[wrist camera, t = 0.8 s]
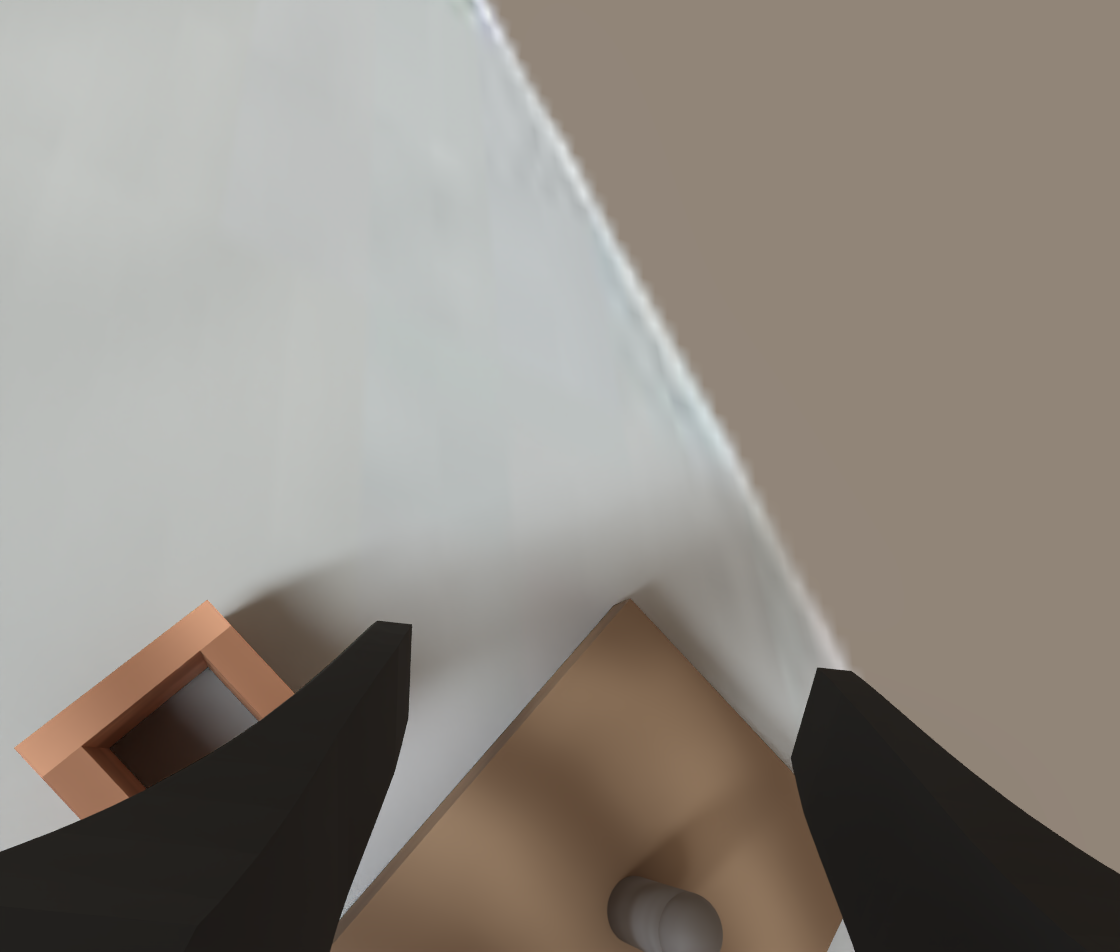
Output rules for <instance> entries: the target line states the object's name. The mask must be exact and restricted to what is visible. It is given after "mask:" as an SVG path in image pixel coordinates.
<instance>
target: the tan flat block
mask: <svg viewBox="0 0 1120 952" xmlns="http://www.w3.org/2000/svg"><path fill="white" fill-rule="evenodd" d="M842 919H843V917H842V915H841V912H840V910H839V907H838V904H837V902H836V899H835V896H834V894H833V891H832V888H831V886H830V883H829V881H828V878H827V875H826V873H825V870H824V867H823V865H822V862H821V859H820V857H819V854H818V851H817V849H816V846H815V843H814V841H813V838H812V835H811V832H810V830H809V827H808V824H807V821H806V819H805V816H804V813H803V809H802V805H801V801H800V797H799V793H798V789H797V784H796V779H795V775H794V774H793V773H792V771H791V770H790V769H789V768H788V767H787V766H786V765H785V764H784V763H783V762H782V761H781V760H780V759H779V758H778V756H777V755H776V754H775V753H774V752H773V751H772V750H771V749H770V748H769V747H768V746H767V745H766V744H765V742H764V741H763V740H762V739H761V738H760V737H759V736H758V735H757V734H756V733H755V732H754V731H753V730H752V729H751V727H750V726H749V725H748V724H747V723H746V722H745V721H744V720H743V719H742V718H741V717H740V716H739V715H738V713H737V712H736V711H735V710H734V709H733V708H732V707H731V706H730V705H729V704H728V703H727V702H726V701H725V700H724V698H723V697H722V696H721V695H720V694H719V693H718V692H717V691H716V690H715V689H714V688H713V687H712V686H711V684H710V683H709V682H708V681H707V680H706V679H705V678H704V677H703V676H702V675H701V674H700V673H699V672H698V671H697V669H696V668H695V667H694V666H693V665H692V664H691V663H690V662H689V661H688V660H687V659H686V658H685V657H684V655H683V654H682V653H681V652H680V651H679V650H678V649H677V648H676V647H675V646H674V645H673V644H672V643H671V642H670V640H669V639H668V638H667V637H666V636H665V635H664V634H663V633H662V632H661V631H660V630H659V629H658V628H657V626H656V625H655V624H654V623H653V622H652V621H651V620H650V619H649V618H648V617H647V616H646V615H645V614H644V613H643V611H642V610H641V609H640V608H639V607H638V606H637V605H636V604H635V603H634V602H633V601H632V600H631V599H628V600H625V601H623V602H621V603H619V604H616V605H614V606H613V607H612V608H611V609H610V610H609V612H608V613H607V614H606V615H605V616H604V617H603V618H602V620H601V621H600V622H599V623H598V624H597V625H596V627H595V628H594V629H593V630H592V631H591V632H590V633H589V635H588V636H587V637H586V638H585V639H584V640H583V641H582V643H581V644H580V645H579V646H578V647H577V648H576V649H575V651H574V652H573V653H572V654H571V655H570V656H569V657H568V659H567V660H566V661H565V662H564V663H563V664H562V666H561V667H560V668H559V669H558V670H557V671H556V672H555V674H554V675H553V676H552V677H551V678H550V679H549V680H548V682H547V683H546V684H545V685H544V686H543V687H542V688H541V690H540V691H539V692H538V693H537V694H536V695H535V696H534V698H533V699H532V700H531V701H530V702H529V703H528V705H527V706H526V707H525V708H524V709H523V710H522V711H521V713H520V714H519V715H518V716H517V717H516V718H515V719H514V721H513V722H512V723H511V724H510V725H509V726H508V727H507V729H506V730H505V731H504V732H503V733H502V734H501V736H500V737H499V738H498V739H497V740H496V741H495V742H494V744H493V745H492V746H491V747H490V748H489V749H488V750H487V752H486V753H485V754H484V755H483V756H482V757H481V758H480V760H479V761H478V762H477V763H476V764H475V765H474V766H473V768H472V769H471V770H470V771H469V772H468V773H467V775H466V776H465V777H464V778H463V779H462V780H461V781H460V783H459V784H458V785H457V786H456V787H455V788H454V789H453V791H452V792H451V793H450V794H449V795H448V796H447V797H446V799H445V800H444V801H443V802H442V803H441V804H440V805H439V807H438V808H437V809H436V810H435V811H434V812H433V814H432V815H431V816H430V817H429V818H428V819H427V820H426V822H425V823H424V824H423V825H422V826H421V827H420V828H419V830H418V831H417V832H416V833H415V834H414V835H413V836H412V838H411V839H410V840H409V841H408V842H407V843H406V844H405V846H404V847H403V848H402V849H401V850H400V851H399V853H398V854H397V855H396V856H395V857H394V858H393V859H392V861H391V862H390V863H389V864H388V865H387V866H386V867H385V869H384V870H383V871H382V872H381V873H380V874H379V875H378V877H377V878H376V879H375V880H374V881H373V882H372V883H371V885H370V886H369V887H368V888H367V889H366V890H365V892H364V893H363V894H362V895H361V896H360V897H359V898H358V900H357V901H356V902H355V903H354V904H353V905H352V906H351V908H350V909H349V910H348V911H347V912H346V913H345V914H344V916H343V917H342V918H341V919H340V920H339V922H338V925H337V929H336V932H335V936H334V939H333V943H332V947H331V950H330V952H827V950H828V948H829V946H830V944H831V942H832V940H833V938H834V936H835V933H836V931H837V929H838V927H839V925H840V923H841V921H842Z"/></svg>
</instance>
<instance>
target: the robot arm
mask: <svg viewBox="0 0 1120 952" xmlns="http://www.w3.org/2000/svg"><path fill="white" fill-rule="evenodd" d="M411 638H412V624H403V623H393V622H384V621H377V622H375V623H374V624H373V625H371V626H370V627H369V628H368V629H367V630H366V631H365V632H364V633H363V634H362V635H360V636H359V637H358V638H357V639H356V640H355V641H354V642H353V643H352V644H351V645H350V646H349V647H348V648H347V649H346V650H345V651H343V652H342V653H341V654H340V655H339V656H338V657H337V658H336V659H335V660H334V661H332V662H331V663H330V664H329V665H328V666H327V667H326V668H324V669H323V670H322V671H321V672H320V673H319V674H318V675H316V676H315V677H314V678H313V679H312V680H311V681H309V682H308V683H307V684H306V685H305V686H304V687H302V688H301V689H300V690H299V691H298V692H296V693H295V694H294V695H293V696H291V697H290V698H289V699H287V700H286V701H285V702H283V703H282V704H281V705H280V706H278V707H277V708H276V709H274V710H273V711H272V712H270V713H269V714H268V715H267V716H265V717H264V718H263V719H261V720H260V721H259V722H257V723H256V724H254V725H253V726H252V727H250V728H249V729H247V730H246V731H245V732H243V733H242V734H240V735H239V736H237V737H236V738H234V739H233V740H231V741H230V742H228V743H226V744H225V745H223V746H222V747H220V748H219V749H217V750H215V751H214V752H212V753H211V754H209V755H207V756H206V757H204V758H202V759H201V760H199V761H197V762H195V763H193V764H191V765H190V766H188V767H186V768H184V769H182V770H181V771H179V772H177V773H175V774H173V775H171V776H170V777H168V778H166V779H164V780H162V781H160V782H159V783H157V784H155V785H153V786H151V787H150V788H148V789H146V790H144V791H142V792H140V793H138V794H136V795H134V796H132V797H129V798H127V799H125V800H123V801H121V802H119V803H117V804H115V805H113V806H111V807H109V808H106V809H104V810H102V811H100V812H97V813H95V814H93V815H91V816H89V817H86V818H84V819H82V820H80V821H77V822H75V823H73V824H70V825H68V826H66V827H63V828H61V829H58V830H56V831H54V832H51V833H49V834H46V835H43V836H41V837H38V838H35V839H33V840H30V841H28V842H25V843H22V844H20V845H17V846H14V847H12V848H9V849H7V850H4V851H1V852H0V952H330V950H331V947H332V943H333V939H334V936H335V932H336V929H337V925H338V922H339V919H340V916H341V913H342V910H343V907H344V904H345V901H346V898H347V895H348V893H349V890H350V887H351V885H352V882H353V880H354V877H355V874H356V872H357V869H358V867H359V864H360V861H361V859H362V856H363V854H364V851H365V848H366V846H367V843H368V841H369V838H370V835H371V833H372V830H373V828H374V825H375V823H376V820H377V817H378V815H379V812H380V809H381V807H382V804H383V802H384V799H385V796H386V794H387V791H388V788H389V786H390V783H391V780H392V778H393V775H394V772H395V769H396V765H397V761H398V757H399V753H400V750H401V746H402V742H403V738H404V734H405V729H406V725H407V721H408V712H409V687H410V662H411ZM791 761H792V766H793V770H794V775H795V779H796V784H797V789H798V793H799V797H800V801H801V805H802V809H803V813H804V816H805V819H806V821H807V824H808V827H809V830H810V832H811V835H812V838H813V841H814V843H815V846H816V849H817V851H818V854H819V857H820V859H821V862H822V865H823V867H824V870H825V873H826V875H827V878H828V881H829V883H830V886H831V888H832V891H833V894H834V896H835V899H836V902H837V904H838V907H839V910H840V912H841V915H842V917H843V920H844V923H845V925H846V928H847V931H848V933H849V936H850V939H851V941H852V944H853V947H854V950H855V952H1120V874H1119V873H1117V872H1115V871H1114V870H1112V869H1110V868H1109V867H1107V866H1105V865H1104V864H1102V863H1100V862H1099V861H1097V860H1096V859H1094V858H1093V857H1091V856H1089V855H1088V854H1086V853H1085V852H1083V851H1082V850H1080V849H1078V848H1077V847H1075V846H1074V845H1072V844H1071V843H1069V842H1068V841H1066V840H1065V839H1064V838H1062V837H1061V836H1059V835H1058V834H1056V833H1055V832H1053V831H1052V830H1050V829H1049V828H1047V827H1046V826H1044V825H1043V824H1042V823H1040V822H1039V821H1037V820H1036V819H1034V818H1033V817H1031V816H1030V815H1028V814H1027V813H1026V812H1024V811H1023V810H1022V809H1020V808H1019V807H1017V806H1016V805H1015V804H1013V803H1012V802H1011V801H1009V800H1008V799H1006V798H1005V797H1004V796H1002V795H1001V794H1000V793H999V792H997V791H996V790H995V789H994V788H992V787H991V786H989V785H988V784H987V783H986V782H984V781H983V780H982V779H981V778H979V777H978V776H977V775H975V774H974V773H973V772H972V771H970V770H969V769H968V768H967V767H965V766H964V765H963V764H962V763H960V762H959V761H958V760H957V759H956V758H954V757H953V756H952V755H951V754H949V753H948V752H947V751H946V750H945V749H943V748H942V747H941V746H940V745H939V744H937V743H936V742H935V741H934V740H933V739H931V738H930V737H929V736H928V735H927V734H926V733H924V732H923V731H922V730H921V729H920V728H919V727H917V726H916V725H915V724H914V723H913V722H912V721H911V720H909V719H908V718H907V717H906V716H905V715H904V714H902V713H901V712H900V711H899V710H898V709H897V708H895V707H894V706H893V705H892V704H891V703H890V702H889V701H887V700H886V699H885V698H884V697H883V696H882V695H881V694H879V693H878V692H877V691H876V690H875V689H873V688H872V687H871V686H870V685H869V684H867V683H866V682H865V681H864V680H862V679H861V678H860V677H859V676H857V675H856V674H855V673H853V672H852V671H845V670H836V669H826V668H817V671H816V674H815V678H814V681H813V684H812V688H811V691H810V695H809V698H808V701H807V705H806V708H805V712H804V715H803V718H802V722H801V725H800V729H799V732H798V735H797V739H796V742H795V746H794V749H793V752H792V756H791Z"/></svg>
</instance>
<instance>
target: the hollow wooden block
mask: <svg viewBox="0 0 1120 952" xmlns="http://www.w3.org/2000/svg"><path fill="white" fill-rule="evenodd" d="M207 667H209V668H210V669H211V670H212V672H213V673H214V674H215V675H216V676H217V677H218V678H219V679H220V680H221V681H222V682H223V683H224V684H225V686H226V687H227V688H228V689H229V690H230V691H231V692H232V693H233V694H234V695H235V696H236V697H237V698H238V699H239V701H240V702H241V703H242V704H243V705H244V706H245V707H246V708H247V709H248V710H249V711H250V712H251V713H252V714H253V716H254V717H255V718H256V719H257V720H258V721H260V720H261V719H263V718H264V717H265V716H267V715H268V714H269V713H270V712H272V711H273V710H274V709H276V708H277V707H278V706H280V705H281V704H282V703H283V702H285V701H286V700H287V699H289V698H290V697H291V696H293V695H294V694H295V693H294V692H293V691H292V690H291V689H290V688H289V687H288V686H287V685H286V684H285V683H284V682H283V680H282V679H281V678H280V677H279V676H278V675H277V674H276V673H275V672H274V671H273V670H272V669H271V668H270V667H269V665H268V664H267V663H266V662H265V661H264V660H263V659H262V658H261V657H260V656H259V655H258V654H257V653H256V651H255V650H254V649H253V648H252V647H251V646H250V645H249V644H248V643H247V642H246V641H245V640H244V639H243V638H242V636H241V635H240V634H239V633H238V632H237V631H236V630H235V629H234V628H233V627H232V626H231V625H230V624H229V623H228V621H227V620H226V619H225V618H224V617H223V616H222V615H221V614H220V613H219V612H218V611H217V610H216V609H215V607H214V606H213V605H212V604H211V603H210V602H209V601H208V600H206V601H205V602H204V603H202V604H201V605H200V606H199V607H197V608H196V609H195V610H193V611H192V612H191V613H189V614H188V615H187V616H185V617H184V618H183V619H182V620H180V621H179V622H178V623H176V624H175V625H174V626H172V627H171V628H170V629H169V630H167V631H166V632H165V633H163V634H162V635H161V636H159V637H158V638H157V639H155V640H154V641H153V642H152V643H150V644H149V645H148V646H146V647H145V648H144V649H142V650H141V651H140V652H139V653H137V654H136V655H135V656H133V657H132V658H131V659H129V660H128V661H127V662H125V663H124V664H123V665H122V666H120V667H119V668H118V669H116V670H115V671H114V672H112V673H111V674H110V675H109V676H107V677H106V678H105V679H103V680H102V681H101V682H99V683H98V684H97V685H95V686H94V687H93V688H92V689H90V690H89V691H88V692H86V693H85V694H84V695H82V696H81V697H80V698H79V699H77V700H76V701H75V702H73V703H72V704H71V705H69V706H68V707H67V708H65V709H64V710H63V711H62V712H60V713H59V714H58V715H56V716H55V717H54V718H52V719H51V720H50V721H49V722H47V723H46V724H45V725H43V726H42V727H41V728H39V729H38V730H37V731H35V732H34V733H33V734H32V735H30V736H29V737H28V738H26V739H25V740H24V741H22V742H21V743H20V744H19V745H17V746H16V747H15V748H14V749H15V750H16V751H17V752H18V753H19V754H20V755H21V756H22V757H23V758H24V759H25V760H26V761H27V763H28V764H29V765H30V766H31V767H32V768H33V769H34V770H35V771H36V772H37V773H38V774H39V775H40V777H41V778H42V779H43V780H44V781H45V782H46V783H47V784H48V785H49V786H50V787H51V788H52V789H53V790H54V792H55V793H56V794H57V795H58V796H59V797H60V798H61V799H62V800H63V801H64V802H65V803H66V804H67V805H68V807H69V808H70V809H71V810H72V811H73V812H74V813H75V814H76V815H77V816H78V817H79V818H80V819H81V820H82V819H84V818H86V817H89V816H91V815H93V814H95V813H97V812H100V811H102V810H104V809H106V808H109V807H111V806H113V805H115V804H117V803H119V802H121V801H123V800H125V799H127V798H129V797H132V796H134V795H136V794H138V793H140V792H142V791H144V790H146V788H145V787H144V786H143V784H142V783H141V782H140V781H139V780H138V779H137V778H136V777H135V776H134V775H133V774H132V773H131V772H130V771H129V769H128V768H127V767H126V766H125V765H124V764H123V763H122V762H121V761H120V760H119V759H118V758H117V757H116V756H115V754H114V753H113V752H112V751H111V750H110V749H109V748H110V747H111V746H112V745H114V744H115V743H116V742H117V741H118V740H120V739H121V738H122V737H123V736H125V735H126V734H127V733H128V732H129V731H131V730H132V729H133V728H134V727H136V726H137V725H138V724H139V723H140V722H142V721H143V720H144V719H145V718H146V717H148V716H149V715H150V714H151V713H153V712H154V711H155V710H156V709H157V708H159V707H160V706H161V705H162V704H164V703H165V702H166V701H167V700H168V699H170V698H171V697H172V696H173V695H174V694H176V693H177V692H178V691H179V690H181V689H182V688H183V687H184V686H185V685H187V684H188V683H189V682H190V681H192V680H193V679H194V678H195V677H196V676H198V675H199V674H200V673H201V672H202V671H204V670H205V669H206V668H207Z"/></svg>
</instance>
